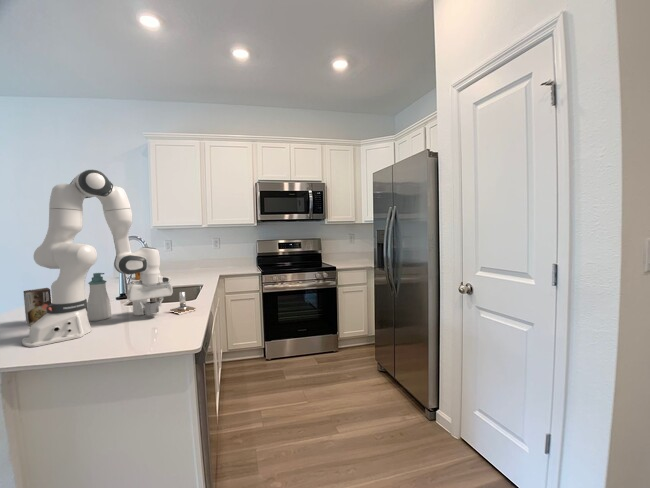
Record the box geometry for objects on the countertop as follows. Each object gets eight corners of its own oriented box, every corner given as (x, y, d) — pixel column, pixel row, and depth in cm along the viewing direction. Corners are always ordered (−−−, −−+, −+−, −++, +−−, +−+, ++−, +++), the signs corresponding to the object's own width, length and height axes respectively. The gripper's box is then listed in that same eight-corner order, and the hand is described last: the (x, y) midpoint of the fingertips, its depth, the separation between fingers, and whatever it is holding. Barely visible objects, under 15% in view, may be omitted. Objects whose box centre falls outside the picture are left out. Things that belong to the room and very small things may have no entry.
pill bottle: (131, 316, 162) (129, 287, 161) (135, 312, 169) (134, 284, 168) (148, 314, 164) (146, 286, 163) (152, 310, 171) (150, 283, 170)
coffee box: (50, 319, 159) (48, 287, 158) (53, 321, 155) (50, 288, 154) (25, 323, 152) (23, 290, 151) (28, 326, 148) (25, 292, 147)
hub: (147, 314, 154) (146, 304, 154) (141, 312, 158) (141, 302, 157) (160, 312, 158) (160, 302, 158) (155, 310, 162) (154, 300, 162)
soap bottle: (99, 321, 153) (96, 274, 152) (82, 321, 155) (79, 274, 154) (116, 316, 163) (113, 271, 161) (100, 315, 165) (97, 271, 163)
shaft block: (179, 314, 163) (178, 294, 162) (170, 312, 168) (169, 292, 167) (195, 310, 170) (194, 291, 169) (186, 308, 175) (185, 289, 175)
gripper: (129, 282, 148) (130, 312, 148) (173, 277, 163) (174, 304, 164) (124, 281, 152) (125, 310, 152) (168, 277, 167) (168, 303, 168)
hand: (151, 307), depth 158 cm, fingers closed on hub, 6 cm apart
